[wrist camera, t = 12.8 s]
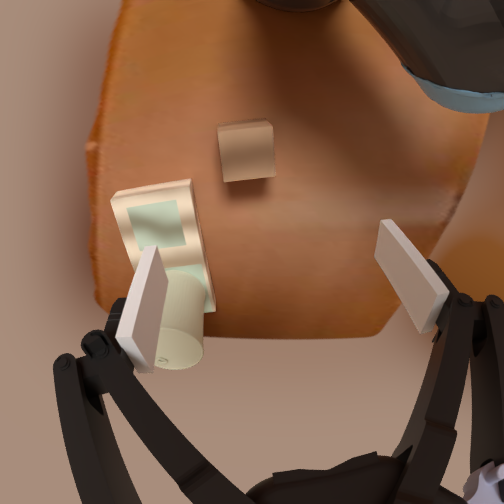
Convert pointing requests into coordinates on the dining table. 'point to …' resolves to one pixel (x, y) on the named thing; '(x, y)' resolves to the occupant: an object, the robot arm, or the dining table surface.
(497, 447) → the robot arm
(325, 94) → the dining table surface
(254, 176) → the cube
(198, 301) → the can
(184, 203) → the board
